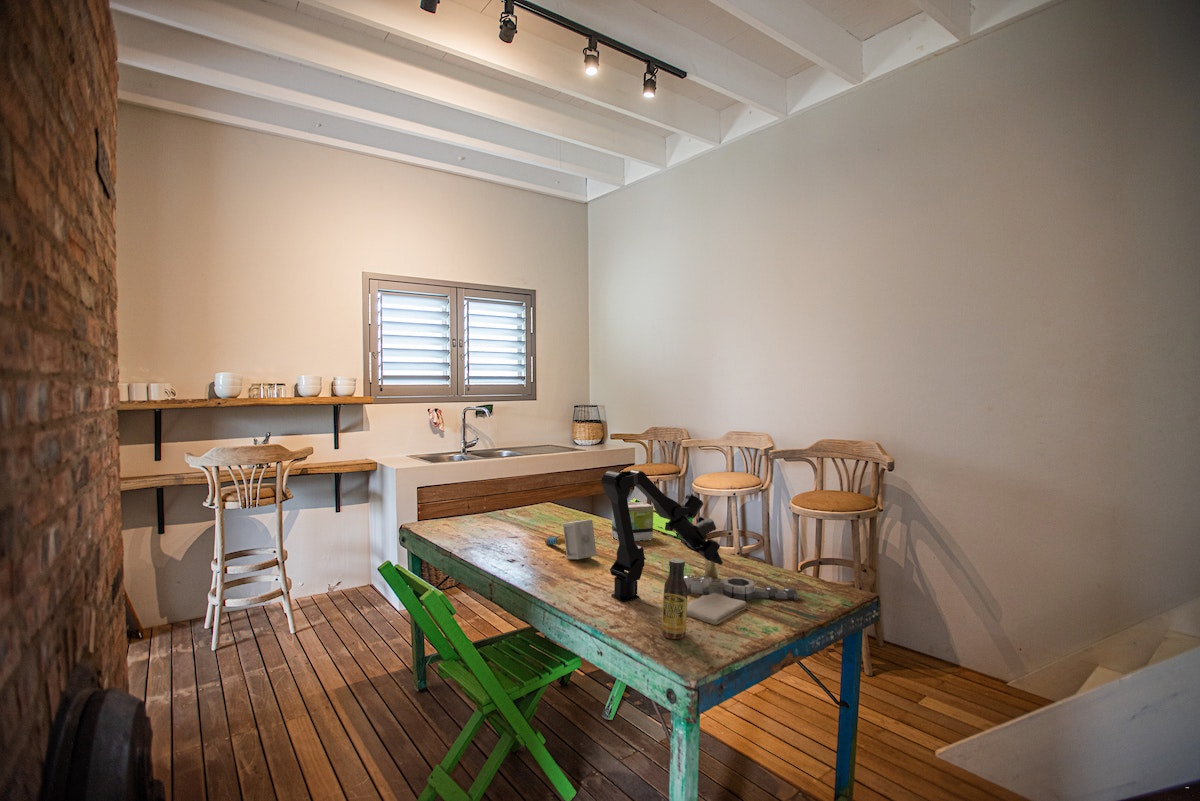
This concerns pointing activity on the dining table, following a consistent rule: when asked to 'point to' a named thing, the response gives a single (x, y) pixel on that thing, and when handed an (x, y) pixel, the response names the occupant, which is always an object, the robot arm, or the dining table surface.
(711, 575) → the brass pin
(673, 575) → the sauce bottle
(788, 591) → the chain joint
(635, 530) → the tea box
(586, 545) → the hammer
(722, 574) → the dining table surface
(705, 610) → the washcloth
